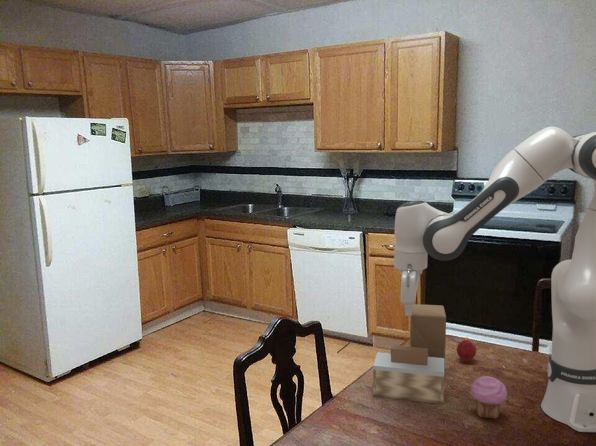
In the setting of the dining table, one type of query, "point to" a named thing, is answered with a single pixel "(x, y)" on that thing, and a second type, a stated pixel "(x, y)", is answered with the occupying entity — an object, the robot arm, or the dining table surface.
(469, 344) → the onion
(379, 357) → the lid
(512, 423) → the dining table surface
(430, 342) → the wooden block
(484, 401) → the cupcake
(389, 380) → the light wooden open box
